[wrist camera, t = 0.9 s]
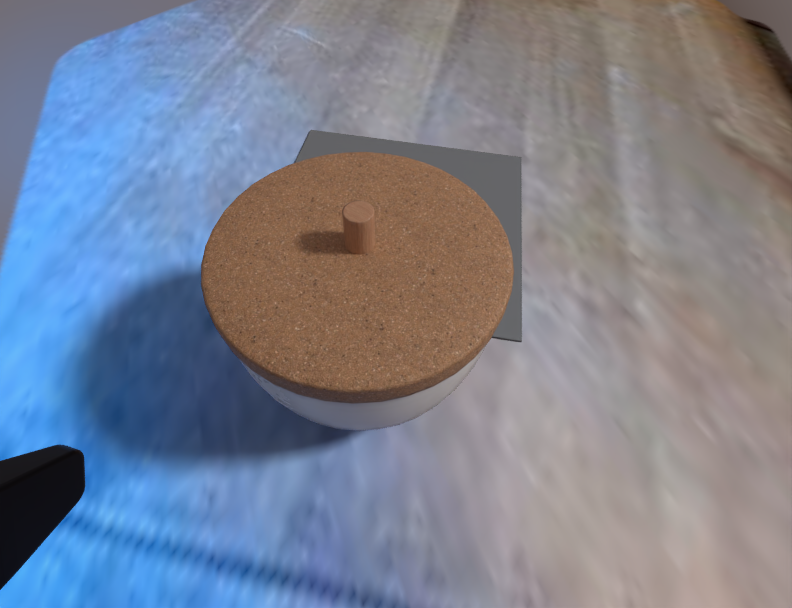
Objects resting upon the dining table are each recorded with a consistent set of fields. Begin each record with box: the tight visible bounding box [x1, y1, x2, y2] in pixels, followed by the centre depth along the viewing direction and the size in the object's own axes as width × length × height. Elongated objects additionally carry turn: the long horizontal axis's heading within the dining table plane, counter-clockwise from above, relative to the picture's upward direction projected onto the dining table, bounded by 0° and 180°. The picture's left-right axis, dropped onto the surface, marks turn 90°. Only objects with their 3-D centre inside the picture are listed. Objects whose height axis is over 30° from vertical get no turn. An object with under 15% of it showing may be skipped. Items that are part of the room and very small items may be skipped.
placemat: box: [295, 130, 522, 342], centre depth 32 cm, size 18×18×1 cm
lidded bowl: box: [201, 152, 514, 431], centre depth 21 cm, size 13×13×11 cm
